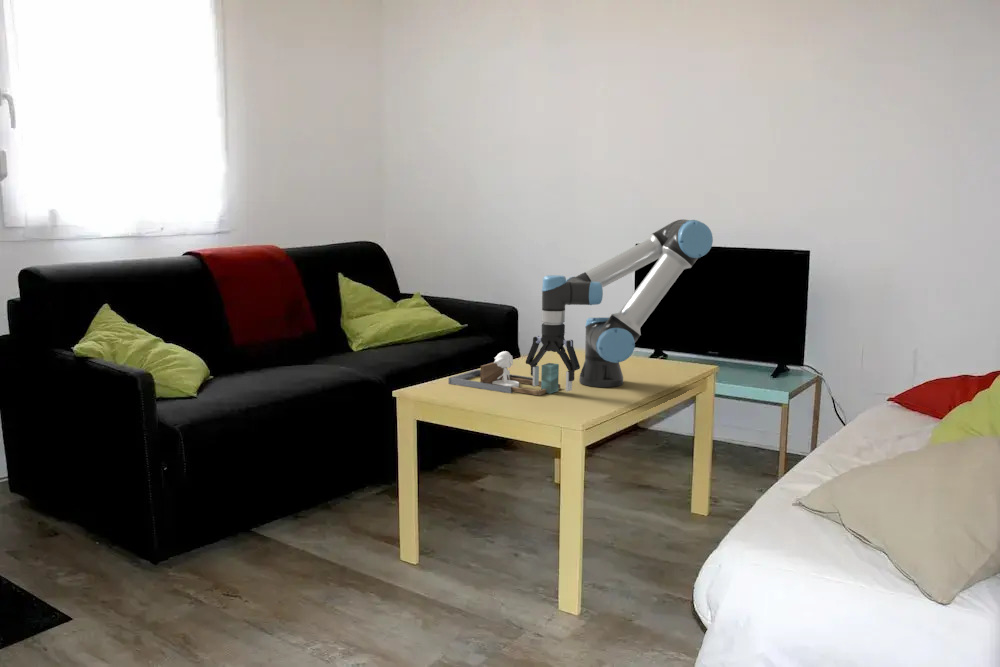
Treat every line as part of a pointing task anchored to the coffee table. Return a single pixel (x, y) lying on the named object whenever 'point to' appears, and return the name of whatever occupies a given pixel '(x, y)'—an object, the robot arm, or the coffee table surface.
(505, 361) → the figurine
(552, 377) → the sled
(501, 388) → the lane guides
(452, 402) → the coffee table surface
